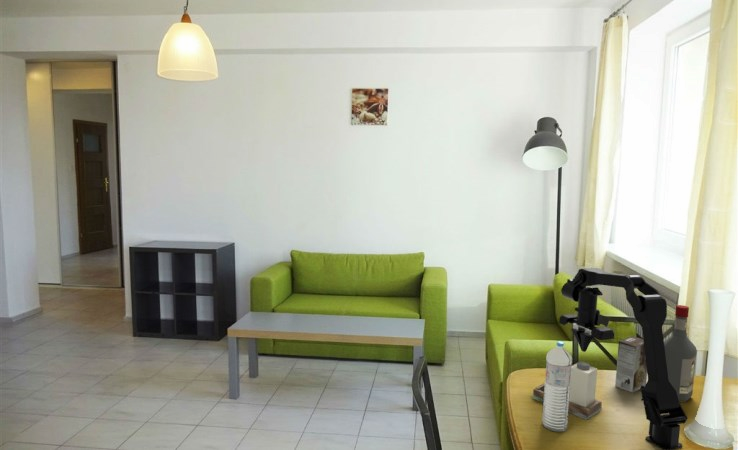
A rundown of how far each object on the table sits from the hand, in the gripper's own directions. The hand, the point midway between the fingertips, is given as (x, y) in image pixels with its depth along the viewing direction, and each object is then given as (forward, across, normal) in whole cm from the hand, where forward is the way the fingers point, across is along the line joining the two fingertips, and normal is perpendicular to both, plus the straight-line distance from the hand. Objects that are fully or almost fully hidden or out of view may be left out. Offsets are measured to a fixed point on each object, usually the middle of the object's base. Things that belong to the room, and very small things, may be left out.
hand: (583, 351), depth 170 cm
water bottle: (+13, -17, +26) cm, 34 cm away
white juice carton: (+12, -11, +11) cm, 20 cm away
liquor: (+13, -14, -26) cm, 32 cm away
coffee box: (+13, -4, -18) cm, 23 cm away
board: (+13, -7, +13) cm, 19 cm away
